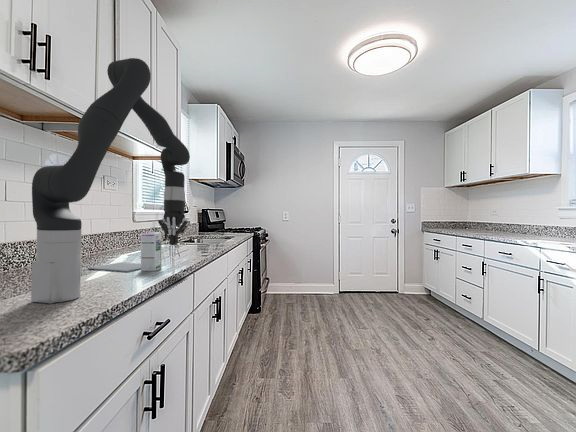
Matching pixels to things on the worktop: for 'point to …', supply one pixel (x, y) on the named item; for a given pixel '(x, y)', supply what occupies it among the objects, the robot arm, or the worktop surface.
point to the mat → (119, 267)
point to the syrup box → (150, 251)
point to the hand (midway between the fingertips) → (173, 245)
